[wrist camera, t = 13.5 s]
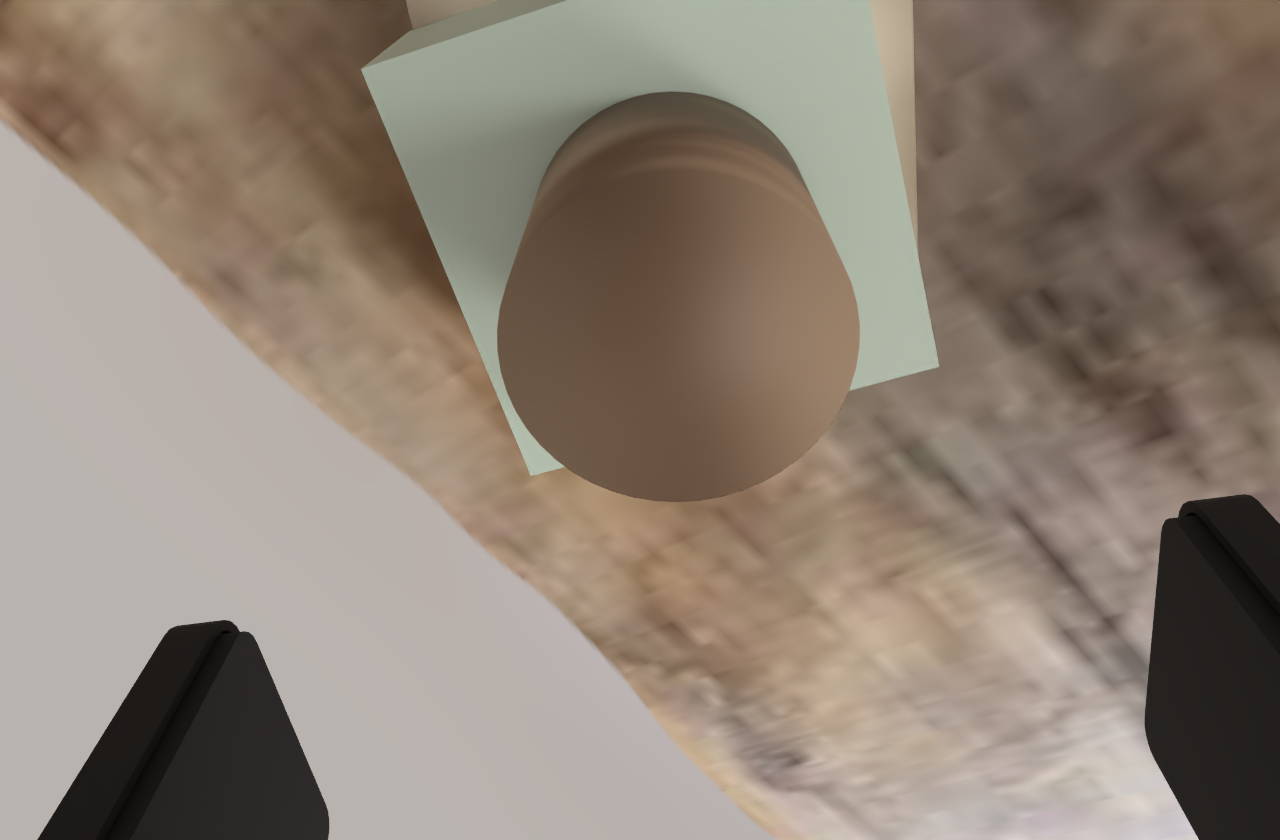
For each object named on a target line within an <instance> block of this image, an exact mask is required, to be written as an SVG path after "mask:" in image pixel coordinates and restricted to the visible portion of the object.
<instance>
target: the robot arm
mask: <svg viewBox="0 0 1280 840" xmlns="http://www.w3.org/2000/svg"><path fill="white" fill-rule="evenodd" d="M1145 731H1146V736H1147V740H1148V744H1149V747H1150V750H1151V753H1152V755H1153V757H1154V759H1155V761H1156V763H1157V764H1158V766H1159V768H1160V770H1161V772H1162V773H1163V775H1164V777H1165V779H1166V781H1167V783H1168V784H1169V786H1170V788H1171V790H1172V792H1173V793H1174V795H1175V797H1176V799H1177V801H1178V802H1179V804H1180V806H1181V808H1182V810H1183V812H1184V813H1185V815H1186V817H1187V819H1188V821H1189V822H1190V824H1191V826H1192V828H1193V830H1194V831H1195V833H1196V835H1197V837H1198V839H1199V840H1280V524H1279V523H1278V522H1277V521H1276V520H1275V518H1274V517H1273V516H1272V515H1271V514H1270V513H1269V512H1268V511H1267V510H1266V509H1265V508H1264V507H1263V506H1262V505H1261V503H1260V502H1259V501H1257V500H1256V499H1255V498H1254V497H1252V496H1250V495H1245V494H1244V495H1236V496H1228V497H1219V498H1211V499H1203V500H1195V501H1188V502H1186V503H1184V504H1183V506H1182V507H1181V509H1180V511H1179V516H1178V518H1170V519H1167V520H1165V522H1164V524H1163V527H1162V532H1161V542H1160V553H1159V564H1158V575H1157V586H1156V597H1155V608H1154V619H1153V631H1152V642H1151V653H1150V664H1149V675H1148V686H1147V697H1146V708H1145ZM328 834H329V816H328V810H327V807H326V804H325V802H324V799H323V797H322V795H321V792H320V790H319V788H318V785H317V783H316V780H315V778H314V776H313V773H312V771H311V769H310V767H309V764H308V762H307V759H306V757H305V755H304V752H303V750H302V748H301V746H300V743H299V740H298V738H297V736H296V733H295V731H294V729H293V726H292V724H291V722H290V719H289V717H288V715H287V712H286V710H285V708H284V705H283V703H282V700H281V698H280V696H279V694H278V691H277V689H276V686H275V684H274V682H273V679H272V677H271V675H270V672H269V670H268V668H267V665H266V663H265V660H264V658H263V656H262V654H261V651H260V649H259V646H258V644H257V642H256V640H255V638H254V637H253V635H251V634H250V633H249V632H240V631H239V630H238V628H237V626H236V625H234V624H233V623H232V622H231V621H226V620H222V621H213V622H205V623H197V624H189V625H181V626H176V627H173V628H171V629H170V630H169V631H168V632H167V633H166V634H165V635H164V637H163V639H162V640H161V642H160V643H159V645H158V647H157V648H156V650H155V651H154V653H153V655H152V656H151V658H150V660H149V661H148V663H147V664H146V666H145V668H144V669H143V671H142V673H141V674H140V676H139V677H138V679H137V680H136V682H135V684H134V686H133V687H132V689H131V690H130V692H129V693H128V695H127V697H126V698H125V700H124V702H123V703H122V705H121V706H120V708H119V710H118V711H117V713H116V714H115V716H114V717H113V719H112V721H111V722H110V724H109V725H108V727H107V729H106V730H105V732H104V734H103V735H102V737H101V738H100V740H99V742H98V743H97V745H96V746H95V748H94V750H93V751H92V753H91V754H90V756H89V758H88V760H87V761H86V763H85V764H84V766H83V767H82V769H81V771H80V772H79V774H78V775H77V777H76V779H75V780H74V782H73V783H72V785H71V787H70V789H69V790H68V791H67V793H66V795H65V796H64V798H63V800H62V801H61V803H60V804H59V806H58V808H57V809H56V811H55V812H54V814H53V816H52V817H51V819H50V820H49V822H48V824H47V825H46V827H45V828H44V830H43V832H42V833H41V835H40V837H39V838H38V840H328Z"/></svg>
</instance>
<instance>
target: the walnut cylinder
mask: <svg viewBox="0 0 1280 840" xmlns="http://www.w3.org/2000/svg"><path fill="white" fill-rule="evenodd" d="M859 343H860V323H859V315H858V307H857V301H856V298H855V294H854V291H853V287H852V283H851V281H850V278H849V276H848V274H847V272H846V269H845V267H844V265H843V263H842V260H841V258H840V256H839V254H838V252H837V250H836V248H835V245H834V243H833V241H832V239H831V237H830V235H829V233H828V231H827V228H826V226H825V224H824V222H823V220H822V218H821V216H820V214H819V211H818V209H817V207H816V205H815V203H814V201H813V199H812V197H811V194H810V192H809V190H808V188H807V186H806V184H805V182H804V180H803V177H802V175H801V173H800V171H799V169H798V167H797V165H796V163H795V161H794V160H793V158H792V156H791V155H790V153H789V152H788V150H787V148H786V147H785V146H784V145H783V143H782V142H781V141H780V140H779V139H778V137H777V136H776V135H775V134H774V133H773V132H772V131H771V130H770V129H769V128H767V127H766V126H765V125H764V124H763V123H762V122H761V121H759V120H758V119H757V118H755V117H754V116H752V115H751V114H749V113H748V112H746V111H745V110H743V109H741V108H739V107H737V106H735V105H733V104H731V103H729V102H726V101H723V100H720V99H717V98H714V97H711V96H707V95H702V94H696V93H691V92H673V91H670V92H658V93H650V94H645V95H641V96H636V97H632V98H629V99H627V100H624V101H621V102H618V103H616V104H614V105H612V106H610V107H608V108H606V109H604V110H602V111H600V112H598V113H597V114H595V115H594V116H593V117H591V118H590V119H588V120H587V121H586V122H584V123H583V124H582V125H581V126H580V127H578V128H577V129H576V130H575V131H574V132H573V133H572V134H571V135H570V136H569V137H568V138H567V139H566V141H565V142H564V143H563V144H562V146H561V147H560V148H559V149H558V151H557V152H556V154H555V155H554V157H553V159H552V160H551V162H550V163H549V165H548V167H547V169H546V171H545V174H544V176H543V178H542V181H541V183H540V186H539V189H538V192H537V195H536V198H535V201H534V204H533V207H532V209H531V212H530V215H529V218H528V221H527V224H526V227H525V230H524V233H523V236H522V239H521V242H520V245H519V248H518V251H517V254H516V257H515V260H514V263H513V266H512V269H511V272H510V275H509V278H508V281H507V284H506V287H505V291H504V294H503V298H502V301H501V305H500V310H499V318H498V325H497V352H498V358H499V365H500V371H501V375H502V378H503V381H504V385H505V388H506V391H507V394H508V396H509V398H510V400H511V402H512V405H513V407H514V409H515V411H516V413H517V414H518V416H519V417H520V419H521V421H522V422H523V424H524V425H525V427H526V428H527V430H528V431H529V432H530V434H531V435H532V436H533V437H534V438H535V439H536V441H537V442H538V443H539V444H540V445H541V447H543V448H544V449H545V450H546V451H547V452H548V453H549V454H550V455H551V456H552V457H553V458H554V459H556V460H557V461H558V462H559V463H561V464H562V465H564V466H565V467H566V468H568V469H569V470H571V471H572V472H573V473H575V474H577V475H579V476H580V477H582V478H584V479H586V480H588V481H589V482H591V483H593V484H596V485H598V486H601V487H603V488H605V489H608V490H610V491H613V492H616V493H620V494H623V495H627V496H631V497H634V498H641V499H647V500H653V501H668V502H685V501H700V500H706V499H711V498H717V497H722V496H725V495H729V494H732V493H736V492H739V491H742V490H745V489H747V488H750V487H752V486H754V485H757V484H759V483H761V482H763V481H765V480H767V479H769V478H771V477H772V476H774V475H776V474H778V473H779V472H781V471H783V470H784V469H785V468H787V467H788V466H789V465H791V464H792V463H794V462H795V461H796V460H798V459H799V458H800V457H801V456H802V455H803V454H804V453H805V452H807V451H808V450H809V449H810V448H811V447H812V446H813V445H814V444H815V443H816V442H817V441H818V439H819V438H820V437H821V436H822V435H823V433H824V432H825V431H826V430H827V429H828V427H829V426H830V424H831V423H832V421H833V420H834V418H835V417H836V415H837V413H838V412H839V410H840V409H841V407H842V404H843V402H844V400H845V398H846V396H847V394H848V392H849V389H850V386H851V383H852V380H853V377H854V373H855V370H856V365H857V359H858V353H859Z"/></svg>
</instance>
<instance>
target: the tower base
mask: <svg viewBox="0 0 1280 840" xmlns="http://www.w3.org/2000/svg"><path fill="white" fill-rule="evenodd" d="M498 1H501V0H406V4H407V8H408V12H409V16H410V20H411V25H412V29H413V30H414V29H417V28H420V27H423V26H426V25H429V24H432V23H435V22H438V21H441V20H444V19H447V18H450V17H453V16H456V15H459V14H462V13H465V12H468V11H471V10H474V9H477V8H480V7H483V6H486V5H489V4H492V3H495V2H498ZM869 3H870V8H871V13H872V18H873V24H874V29H875V34H876V39H877V44H878V50H879V55H880V60H881V65H882V70H883V76H884V81H885V86H886V91H887V96H888V102H889V107H890V112H891V117H892V123H893V128H894V133H895V138H896V143H897V149H898V154H899V159H900V164H901V169H902V175H903V180H904V185H905V190H906V195H907V201H908V206H909V211H910V216H911V221H912V227H913V232H914V237H915V242H916V248H917V253H918V226H917V180H916V134H915V87H914V41H913V0H869Z"/></svg>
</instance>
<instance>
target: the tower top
mask: <svg viewBox="0 0 1280 840" xmlns="http://www.w3.org/2000/svg"><path fill="white" fill-rule="evenodd" d="M361 71H362V73H363V76H364V78H365V81H366V83H367V85H368V88H369V90H370V92H371V95H372V97H373V100H374V102H375V104H376V107H377V109H378V112H379V114H380V116H381V119H382V121H383V124H384V126H385V128H386V131H387V133H388V135H389V138H390V140H391V143H392V145H393V147H394V150H395V152H396V155H397V157H398V159H399V162H400V164H401V167H402V169H403V171H404V174H405V176H406V178H407V181H408V183H409V186H410V188H411V190H412V193H413V195H414V198H415V200H416V202H417V205H418V207H419V210H420V212H421V214H422V217H423V219H424V222H425V224H426V226H427V229H428V231H429V233H430V236H431V238H432V241H433V243H434V245H435V248H436V250H437V253H438V255H439V257H440V260H441V262H442V265H443V267H444V269H445V272H446V274H447V276H448V279H449V281H450V284H451V286H452V288H453V291H454V293H455V296H456V298H457V300H458V303H459V305H460V308H461V310H462V312H463V315H464V317H465V319H466V322H467V324H468V327H469V329H470V331H471V334H472V336H473V339H474V341H475V343H476V346H477V348H478V351H479V353H480V355H481V358H482V360H483V363H484V365H485V367H486V370H487V372H488V374H489V377H490V379H491V382H492V384H493V386H494V389H495V391H496V394H497V396H498V398H499V401H500V403H501V406H502V408H503V410H504V413H505V415H506V417H507V420H508V422H509V425H510V427H511V429H512V432H513V434H514V437H515V439H516V441H517V444H518V446H519V449H520V451H521V453H522V456H523V458H524V460H525V463H526V465H527V468H528V470H529V472H530V475H531V476H533V475H537V474H540V473H544V472H548V471H552V470H555V469H559V468H563V467H565V466H564V465H562V464H561V463H559V462H558V461H557V460H556V459H554V458H553V457H552V456H551V455H550V454H549V453H548V452H547V451H546V450H545V449H544V448H543V447H541V445H540V444H539V443H538V442H537V441H536V439H535V438H534V437H533V436H532V435H531V434H530V432H529V431H528V430H527V428H526V427H525V425H524V424H523V422H522V421H521V419H520V417H519V416H518V414H517V413H516V411H515V409H514V407H513V405H512V402H511V400H510V398H509V396H508V394H507V391H506V388H505V385H504V381H503V378H502V375H501V371H500V365H499V358H498V352H497V325H498V318H499V310H500V305H501V301H502V298H503V294H504V291H505V287H506V284H507V281H508V278H509V275H510V272H511V269H512V266H513V263H514V260H515V257H516V254H517V251H518V248H519V245H520V242H521V239H522V236H523V233H524V230H525V227H526V224H527V221H528V218H529V215H530V212H531V209H532V207H533V204H534V201H535V198H536V195H537V192H538V189H539V186H540V183H541V181H542V178H543V176H544V174H545V171H546V169H547V167H548V165H549V163H550V162H551V160H552V159H553V157H554V155H555V154H556V152H557V151H558V149H559V148H560V147H561V146H562V144H563V143H564V142H565V141H566V139H567V138H568V137H569V136H570V135H571V134H572V133H573V132H574V131H575V130H576V129H577V128H578V127H580V126H581V125H582V124H583V123H584V122H586V121H587V120H588V119H590V118H591V117H593V116H594V115H595V114H597V113H598V112H600V111H602V110H604V109H606V108H608V107H610V106H612V105H614V104H616V103H618V102H621V101H624V100H627V99H629V98H632V97H636V96H641V95H645V94H650V93H658V92H670V91H673V92H691V93H696V94H702V95H707V96H711V97H714V98H717V99H720V100H723V101H726V102H729V103H731V104H733V105H735V106H737V107H739V108H741V109H743V110H745V111H746V112H748V113H749V114H751V115H752V116H754V117H755V118H757V119H758V120H759V121H761V122H762V123H763V124H764V125H765V126H766V127H767V128H769V129H770V130H771V131H772V132H773V133H774V134H775V135H776V136H777V137H778V139H779V140H780V141H781V142H782V143H783V145H784V146H785V147H786V148H787V150H788V152H789V153H790V155H791V156H792V158H793V160H794V161H795V163H796V165H797V167H798V169H799V171H800V173H801V175H802V177H803V180H804V182H805V184H806V186H807V188H808V190H809V192H810V194H811V197H812V199H813V201H814V203H815V205H816V207H817V209H818V211H819V214H820V216H821V218H822V220H823V222H824V224H825V226H826V228H827V231H828V233H829V235H830V237H831V239H832V241H833V243H834V245H835V248H836V250H837V252H838V254H839V256H840V258H841V260H842V263H843V265H844V267H845V269H846V272H847V274H848V276H849V278H850V281H851V283H852V287H853V291H854V294H855V298H856V301H857V307H858V315H859V323H860V343H859V353H858V359H857V365H856V370H855V373H854V377H853V380H852V383H851V386H850V389H849V391H850V390H854V389H858V388H862V387H865V386H869V385H873V384H876V383H880V382H884V381H888V380H891V379H895V378H899V377H903V376H906V375H910V374H914V373H918V372H921V371H925V370H929V369H932V368H936V367H939V362H938V357H937V352H936V346H935V341H934V336H933V331H932V326H931V320H930V315H929V310H928V305H927V300H926V294H925V289H924V284H923V279H922V274H921V268H920V263H919V258H918V253H917V248H916V242H915V237H914V232H913V227H912V221H911V216H910V211H909V206H908V201H907V195H906V190H905V185H904V180H903V175H902V169H901V164H900V159H899V154H898V149H897V143H896V138H895V133H894V128H893V123H892V117H891V112H890V107H889V102H888V96H887V91H886V86H885V81H884V76H883V70H882V65H881V60H880V55H879V50H878V44H877V39H876V34H875V29H874V24H873V18H872V13H871V8H870V3H869V0H501V1H498V2H495V3H492V4H489V5H486V6H483V7H480V8H477V9H474V10H471V11H468V12H465V13H462V14H459V15H456V16H453V17H450V18H447V19H444V20H441V21H438V22H435V23H432V24H429V25H426V26H423V27H420V28H417V29H414V30H412V31H409V32H407V33H406V34H405V35H404V36H402V37H401V38H400V39H398V40H397V41H396V42H395V43H393V44H392V45H391V46H389V47H388V48H387V49H386V50H384V51H383V52H382V53H381V54H379V55H378V56H377V57H375V58H374V59H373V60H372V61H370V62H369V63H368V64H366V65H365V66H364V67H363V68H361Z"/></svg>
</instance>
